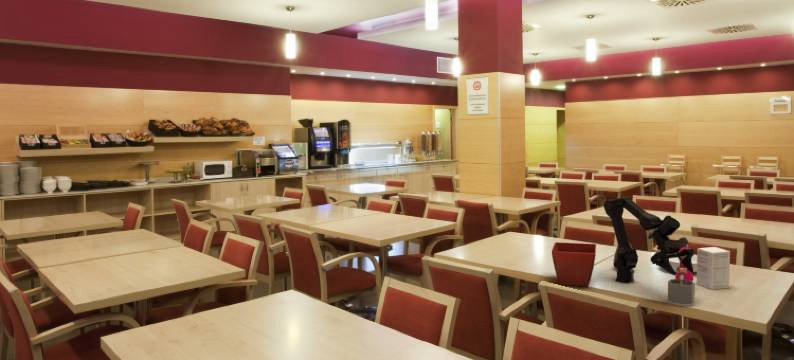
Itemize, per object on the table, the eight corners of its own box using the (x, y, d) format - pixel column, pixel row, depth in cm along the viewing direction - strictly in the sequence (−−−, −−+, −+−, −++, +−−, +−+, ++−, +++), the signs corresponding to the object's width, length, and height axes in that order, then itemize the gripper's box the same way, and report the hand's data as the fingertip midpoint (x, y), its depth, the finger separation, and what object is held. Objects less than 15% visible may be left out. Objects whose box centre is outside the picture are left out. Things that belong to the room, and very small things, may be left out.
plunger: (669, 286, 218) (669, 267, 217) (674, 282, 223) (675, 264, 223) (688, 290, 213) (688, 270, 213) (693, 286, 218) (694, 267, 218)
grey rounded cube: (664, 302, 219) (664, 282, 218) (671, 296, 226) (672, 277, 225) (690, 307, 212) (691, 287, 211) (697, 301, 219) (698, 281, 218)
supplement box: (714, 282, 245) (715, 246, 243) (729, 288, 235) (731, 251, 234) (695, 283, 243) (696, 247, 241) (710, 289, 234) (712, 252, 232)
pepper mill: (695, 290, 234) (697, 245, 232) (678, 289, 235) (679, 245, 233) (689, 284, 241) (691, 241, 239) (672, 284, 242) (674, 241, 240)
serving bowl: (659, 274, 259) (660, 261, 258) (656, 264, 278) (656, 251, 277) (708, 278, 251) (709, 264, 250) (701, 267, 270) (702, 253, 270)
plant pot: (551, 286, 245) (551, 250, 243) (554, 275, 263) (555, 241, 261) (595, 290, 238) (595, 253, 236) (596, 278, 256) (596, 244, 254)
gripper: (656, 232, 218) (676, 265, 208) (692, 229, 223) (714, 261, 214) (641, 247, 226) (661, 279, 216) (676, 243, 231) (697, 275, 222)
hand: (683, 273), depth 217 cm, fingers open, 9 cm apart
